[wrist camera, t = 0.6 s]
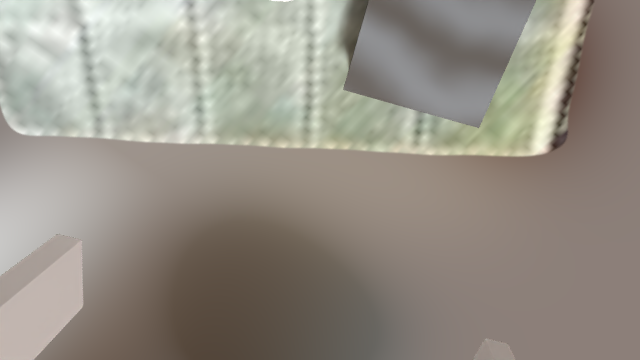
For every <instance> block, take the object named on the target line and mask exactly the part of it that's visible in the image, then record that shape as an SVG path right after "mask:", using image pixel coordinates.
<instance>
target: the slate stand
mask: <svg viewBox="0 0 640 360" xmlns="http://www.w3.org/2000/svg"><path fill="white" fill-rule="evenodd" d="M535 2H536V0H369V1H368V5H367V8H366V12H365V15H364V19H363V22H362V26H361V29H360V33H359V36H358V40H357V43H356V47H355V50H354V54H353V57H352V61H351V64H350V68H349V71H348V75H347V78H346V82H345V85H344V90H346V91H350V92H353V93H357V94H360V95H364V96H367V97H371V98H374V99H378V100H382V101H385V102H389V103H392V104H396V105H399V106H403V107H406V108H410V109H413V110H417V111H421V112H424V113H428V114H431V115H435V116H438V117H442V118H445V119H449V120H452V121H456V122H459V123H463V124H467V125H470V126H474V127H477V128H479V127H480V124H481V122H482V120H483V118H484V115H485V113H486V111H487V109H488V107H489V104H490V102H491V100H492V98H493V95H494V93H495V91H496V89H497V87H498V84H499V82H500V80H501V78H502V75H503V73H504V71H505V69H506V66H507V64H508V62H509V60H510V58H511V55H512V53H513V51H514V49H515V46H516V44H517V42H518V40H519V37H520V35H521V33H522V31H523V29H524V26H525V24H526V22H527V20H528V17H529V15H530V13H531V11H532V8H533V6H534V4H535Z"/></svg>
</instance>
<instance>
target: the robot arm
mask: <svg viewBox="0 0 640 360" xmlns="http://www.w3.org/2000/svg"><path fill="white" fill-rule="evenodd" d="M82 279H83V277H82V240H80V239H76V238H72V237H68V236H64V235H60V234H57V235H55V236H54V237H53V238H51V239H50V240H49V241H47V242H46V243H44V244H43V245H42V246H40V247H39V248H38V249H36V250H35V251H34V252H32V253H31V254H30V255H28V256H27V257H25V258H24V259H23V260H21V261H20V262H19V263H17V264H16V265H15V266H13V267H12V268H11V269H9V270H8V271H6V272H5V273H4V274H2V275H1V276H0V360H34V359H35V358H36V357H37V356H38V354H39V353H40V352H41V351H42V350H43V349H44V348H45V347H46V346H47V345H48V344H49V343H50V341H51V340H52V339H53V338H54V337H55V336H56V335H57V334H58V333H59V332H60V331H61V330H62V329H63V328H64V326H65V325H66V324H67V323H68V322H69V321H70V320H71V319H72V318H73V317H74V316H75V315H76V313H77V312H78V311H79V310H80V309H81V308H82V307H83V280H82ZM473 360H515V358H514V356H513V354H512V351H511V349H510V347H509V345H508V344H507V343H502V342H498V341H494V340H490V339H486V338H485V339H484V341H483V343H482V344H481V346H480V348H479V350H478V351H477V353H476V355H475V357H474V359H473Z"/></svg>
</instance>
